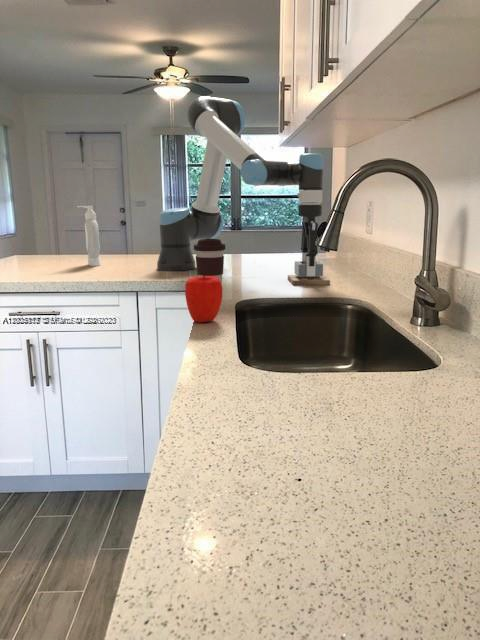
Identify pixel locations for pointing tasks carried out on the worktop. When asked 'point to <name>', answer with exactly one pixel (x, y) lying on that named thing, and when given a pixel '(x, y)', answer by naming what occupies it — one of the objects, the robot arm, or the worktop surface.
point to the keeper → (308, 279)
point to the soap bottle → (92, 237)
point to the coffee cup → (210, 257)
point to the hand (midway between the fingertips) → (308, 273)
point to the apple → (203, 297)
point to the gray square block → (302, 269)
